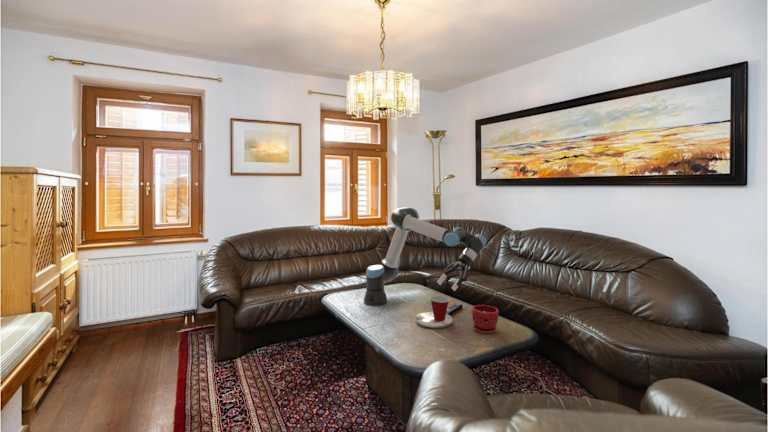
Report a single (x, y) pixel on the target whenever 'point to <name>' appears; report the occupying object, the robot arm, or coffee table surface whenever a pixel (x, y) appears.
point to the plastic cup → (439, 307)
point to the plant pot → (485, 318)
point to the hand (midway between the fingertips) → (445, 286)
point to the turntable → (432, 320)
